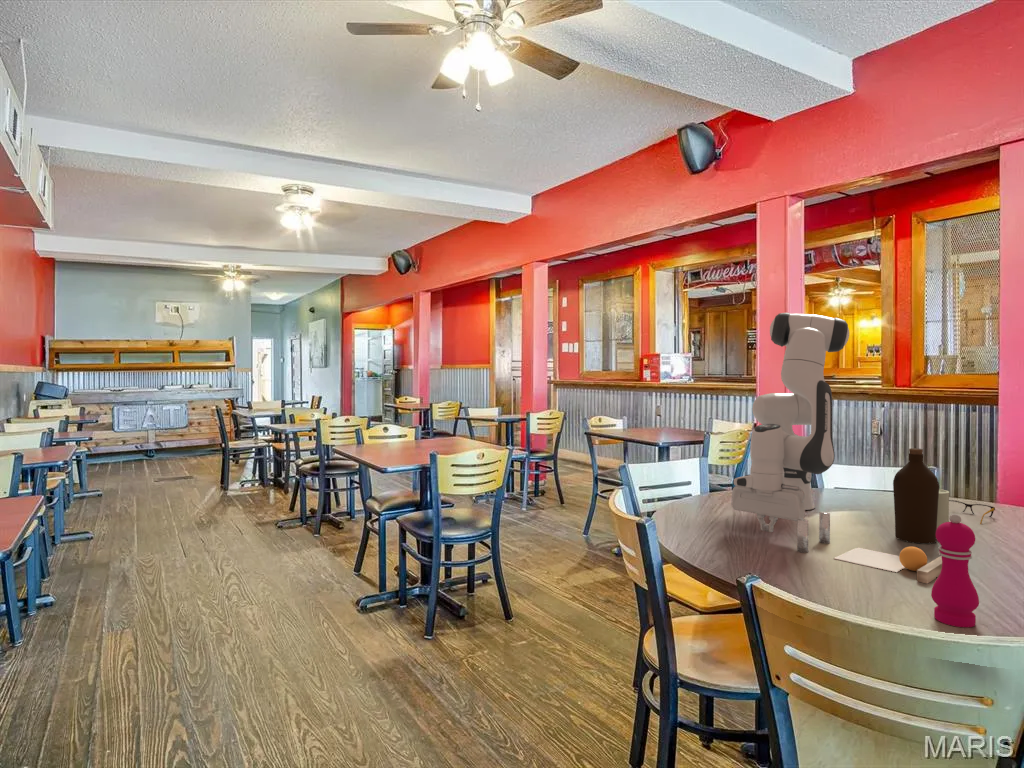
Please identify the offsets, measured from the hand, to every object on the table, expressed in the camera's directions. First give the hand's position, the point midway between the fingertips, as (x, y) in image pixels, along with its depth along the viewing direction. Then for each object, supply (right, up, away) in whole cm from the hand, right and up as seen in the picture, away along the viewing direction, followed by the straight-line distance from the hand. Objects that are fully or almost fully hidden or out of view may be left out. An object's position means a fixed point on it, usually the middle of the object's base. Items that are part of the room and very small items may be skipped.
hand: (767, 530), depth 173 cm
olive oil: (+39, -2, -4) cm, 40 cm away
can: (+50, -1, +6) cm, 51 cm away
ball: (+22, +1, -30) cm, 37 cm away
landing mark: (+18, -2, -22) cm, 28 cm away
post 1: (+3, -2, -14) cm, 15 cm away
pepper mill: (+11, -3, -59) cm, 60 cm away
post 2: (+13, -2, -6) cm, 15 cm away
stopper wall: (+26, -2, -32) cm, 41 cm away
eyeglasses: (+71, -1, +22) cm, 74 cm away
